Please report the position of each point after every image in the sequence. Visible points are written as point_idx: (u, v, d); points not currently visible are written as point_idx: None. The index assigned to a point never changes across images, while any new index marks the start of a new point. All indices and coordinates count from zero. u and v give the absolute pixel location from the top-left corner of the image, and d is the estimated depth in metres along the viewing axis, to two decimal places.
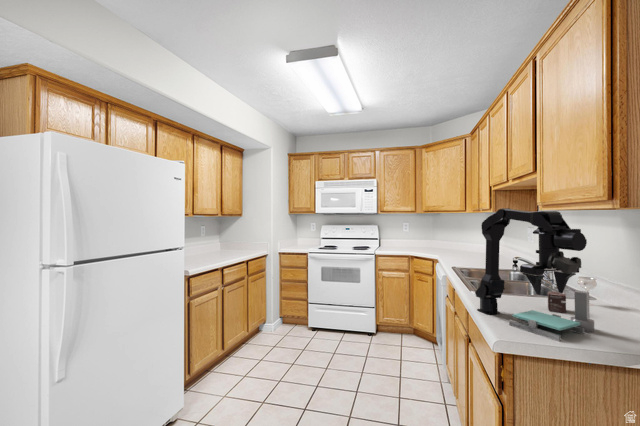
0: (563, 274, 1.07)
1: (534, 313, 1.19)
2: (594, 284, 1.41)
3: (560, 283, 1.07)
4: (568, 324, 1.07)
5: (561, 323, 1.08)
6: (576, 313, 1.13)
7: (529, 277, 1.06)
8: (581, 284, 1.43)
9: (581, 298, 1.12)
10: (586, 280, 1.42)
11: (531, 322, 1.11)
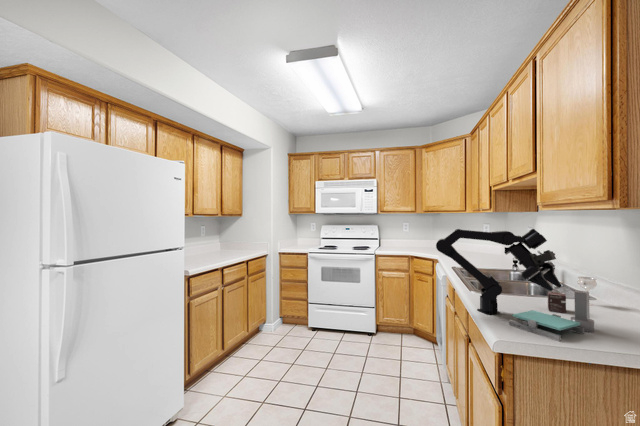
0: (548, 272, 1.25)
1: (534, 313, 1.19)
2: (594, 284, 1.41)
3: (553, 280, 1.24)
4: (568, 324, 1.07)
5: (561, 323, 1.08)
6: (576, 313, 1.13)
7: (534, 281, 1.19)
8: (581, 284, 1.43)
9: (581, 298, 1.12)
10: (586, 280, 1.42)
11: (531, 322, 1.11)
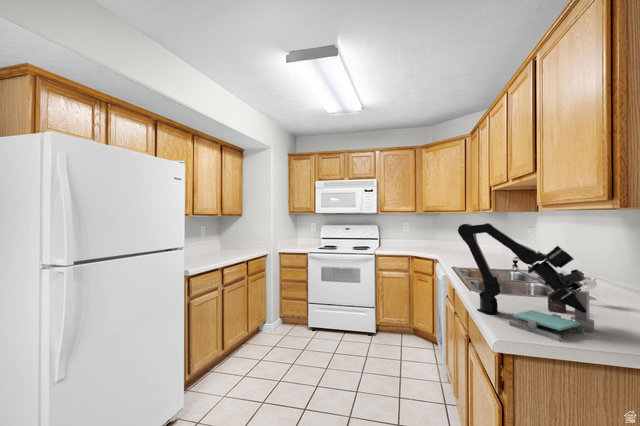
0: None
1: (534, 313, 1.19)
2: (594, 284, 1.41)
3: None
4: (568, 324, 1.07)
5: (561, 323, 1.08)
6: (576, 313, 1.13)
7: (566, 302, 1.14)
8: None
9: (581, 298, 1.12)
10: (586, 280, 1.42)
11: (531, 322, 1.11)
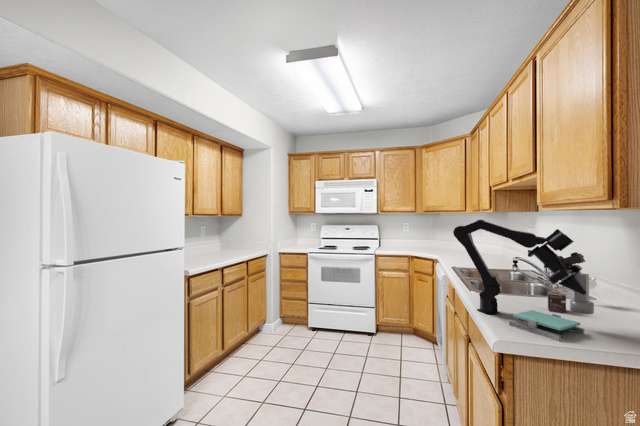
0: None
1: (534, 313, 1.19)
2: (594, 284, 1.41)
3: None
4: (568, 324, 1.07)
5: (561, 323, 1.08)
6: (576, 295, 1.13)
7: (565, 284, 1.14)
8: None
9: (581, 280, 1.12)
10: None
11: (531, 322, 1.11)
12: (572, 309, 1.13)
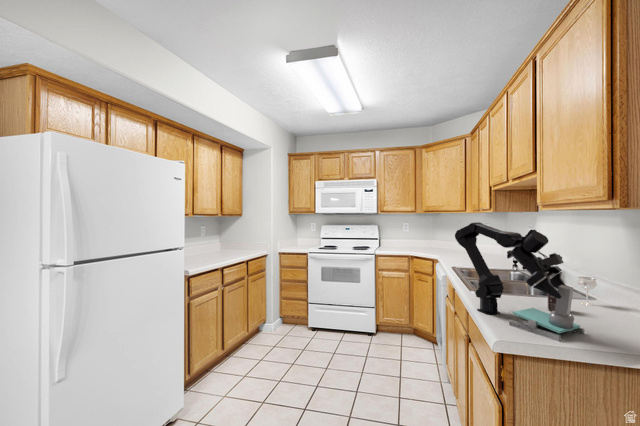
0: (555, 277, 1.14)
1: (534, 311, 1.19)
2: (594, 284, 1.41)
3: None
4: None
5: None
6: (556, 308, 1.08)
7: (540, 287, 1.08)
8: (581, 284, 1.43)
9: (564, 293, 1.06)
10: (586, 280, 1.42)
11: (531, 322, 1.11)
12: (551, 322, 1.09)
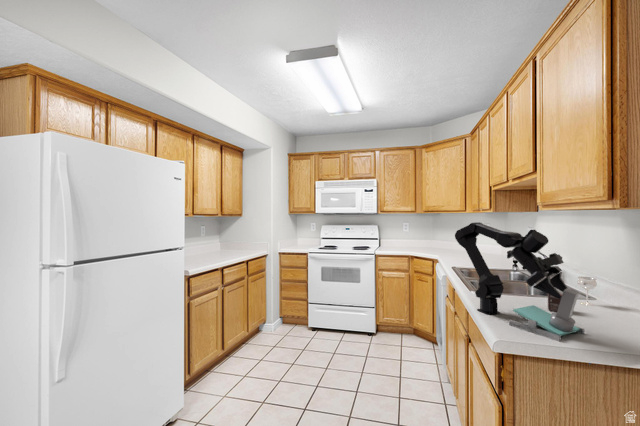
0: (555, 277, 1.14)
1: (535, 310, 1.19)
2: (594, 284, 1.41)
3: (561, 286, 1.12)
4: None
5: None
6: (559, 311, 1.07)
7: (540, 287, 1.08)
8: (581, 284, 1.43)
9: (569, 298, 1.05)
10: (586, 280, 1.42)
11: (531, 322, 1.11)
12: (551, 323, 1.09)
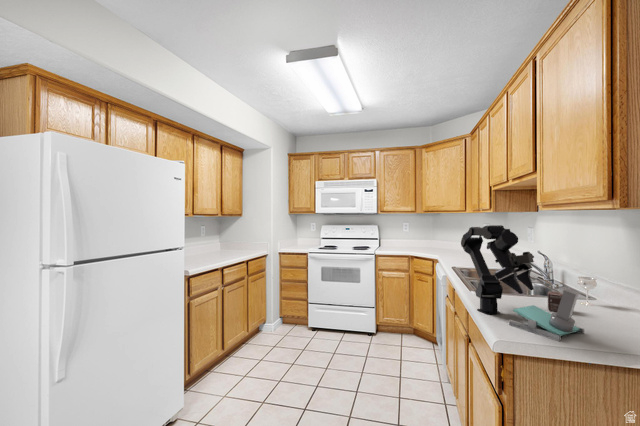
0: (524, 273, 1.21)
1: (535, 310, 1.19)
2: (594, 284, 1.41)
3: (527, 282, 1.20)
4: None
5: None
6: (559, 311, 1.07)
7: (506, 281, 1.16)
8: (581, 284, 1.43)
9: (569, 298, 1.05)
10: (586, 280, 1.42)
11: (531, 322, 1.11)
12: (551, 323, 1.09)
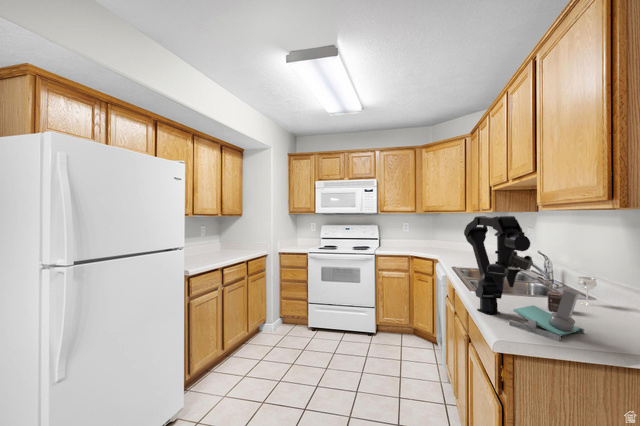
0: (513, 271, 1.23)
1: (535, 310, 1.19)
2: (594, 284, 1.41)
3: (511, 279, 1.23)
4: None
5: None
6: (559, 311, 1.07)
7: (494, 276, 1.18)
8: (581, 284, 1.43)
9: (569, 298, 1.05)
10: (586, 280, 1.42)
11: (531, 322, 1.11)
12: (551, 323, 1.09)
